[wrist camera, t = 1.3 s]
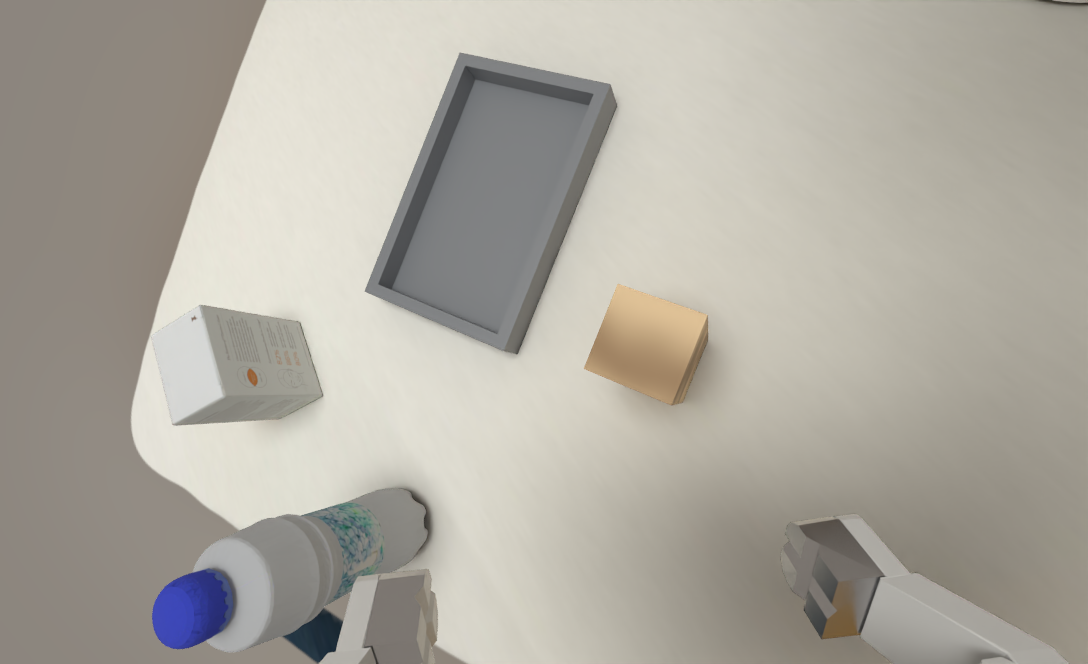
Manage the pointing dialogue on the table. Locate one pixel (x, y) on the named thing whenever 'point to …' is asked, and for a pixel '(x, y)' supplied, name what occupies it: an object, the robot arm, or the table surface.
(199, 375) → the small box
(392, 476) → the table surface
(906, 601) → the robot arm
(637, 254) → the table surface
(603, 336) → the oak block
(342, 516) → the bottle
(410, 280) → the tray
